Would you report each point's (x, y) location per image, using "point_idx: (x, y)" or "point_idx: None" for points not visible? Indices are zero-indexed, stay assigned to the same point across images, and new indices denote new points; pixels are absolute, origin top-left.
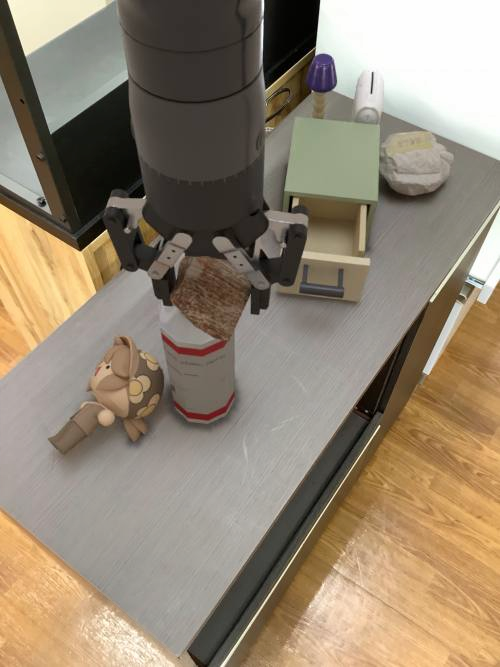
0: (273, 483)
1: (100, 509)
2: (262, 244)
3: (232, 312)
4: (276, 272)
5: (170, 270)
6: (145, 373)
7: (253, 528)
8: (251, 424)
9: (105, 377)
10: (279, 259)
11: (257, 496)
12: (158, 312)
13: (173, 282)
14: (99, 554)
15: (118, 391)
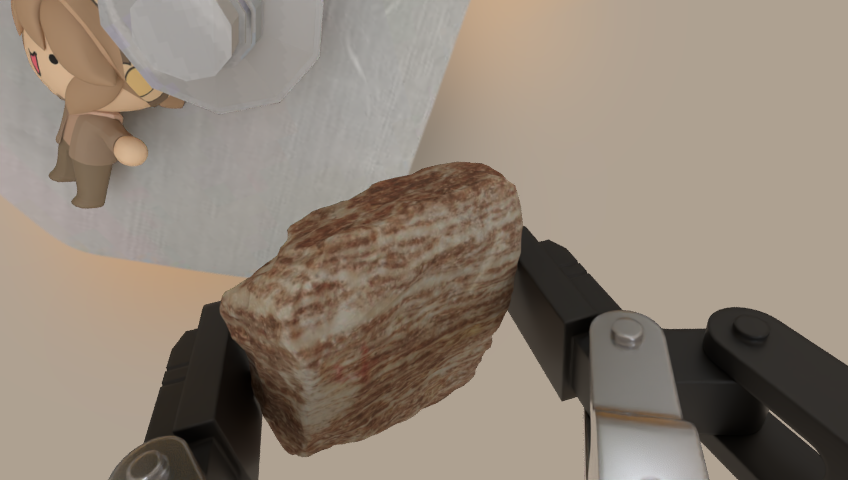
0: (409, 99)
1: (199, 210)
2: (681, 415)
3: (467, 357)
4: (699, 430)
5: (237, 448)
6: None
7: (400, 163)
8: (350, 13)
9: (69, 90)
10: (723, 392)
11: (393, 123)
12: (115, 41)
13: (241, 364)
14: (233, 254)
15: (115, 99)
